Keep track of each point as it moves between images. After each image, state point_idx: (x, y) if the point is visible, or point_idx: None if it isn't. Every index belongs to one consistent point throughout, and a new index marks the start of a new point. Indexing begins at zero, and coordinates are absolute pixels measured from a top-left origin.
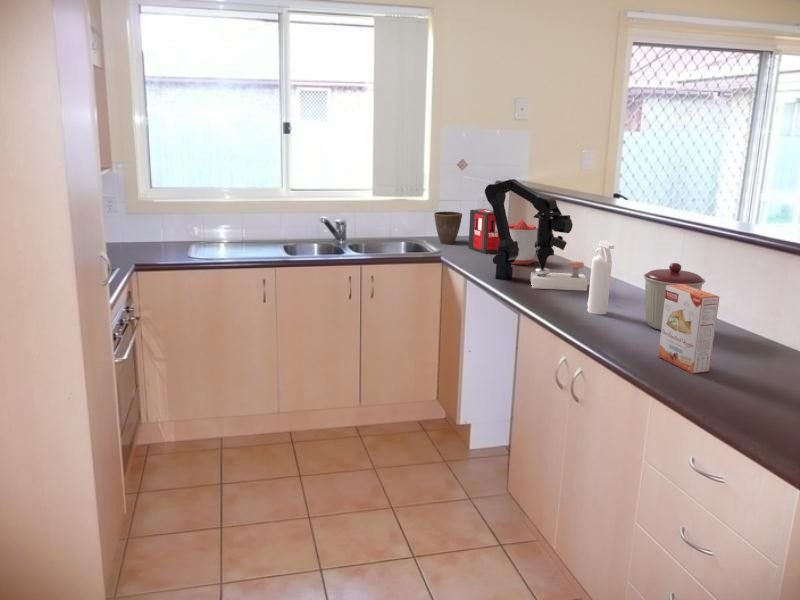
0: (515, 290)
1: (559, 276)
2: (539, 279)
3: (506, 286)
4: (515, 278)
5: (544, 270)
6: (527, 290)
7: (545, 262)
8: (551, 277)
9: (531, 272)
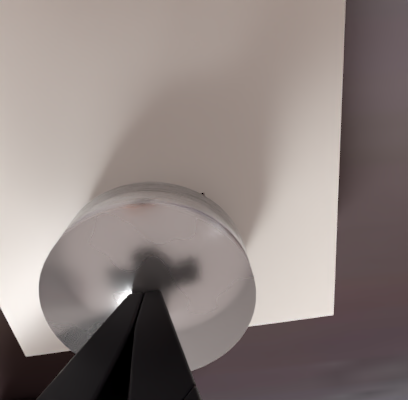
0: (387, 338)
1: (126, 16)
2: (330, 253)
3: (283, 390)
4: (14, 378)
5: (245, 272)
6: (378, 276)
7: (193, 378)
8: (238, 135)
9: (51, 350)
